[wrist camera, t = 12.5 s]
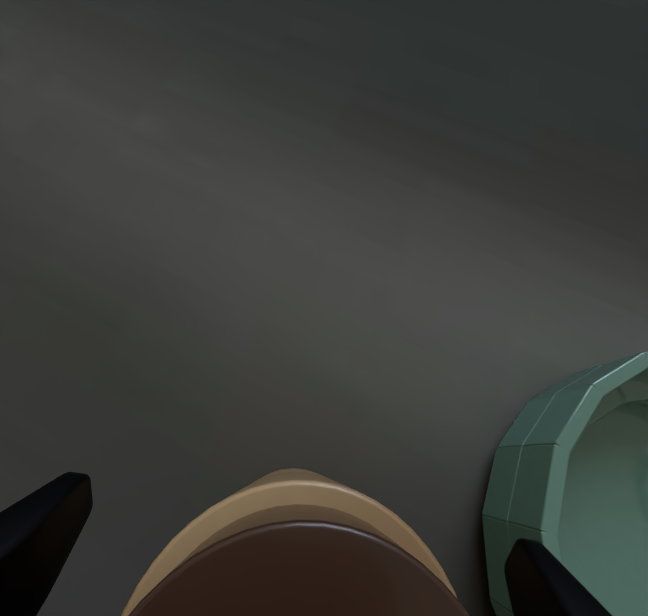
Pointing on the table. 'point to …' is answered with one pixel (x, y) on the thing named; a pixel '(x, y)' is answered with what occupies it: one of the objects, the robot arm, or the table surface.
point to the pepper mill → (295, 558)
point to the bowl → (578, 485)
